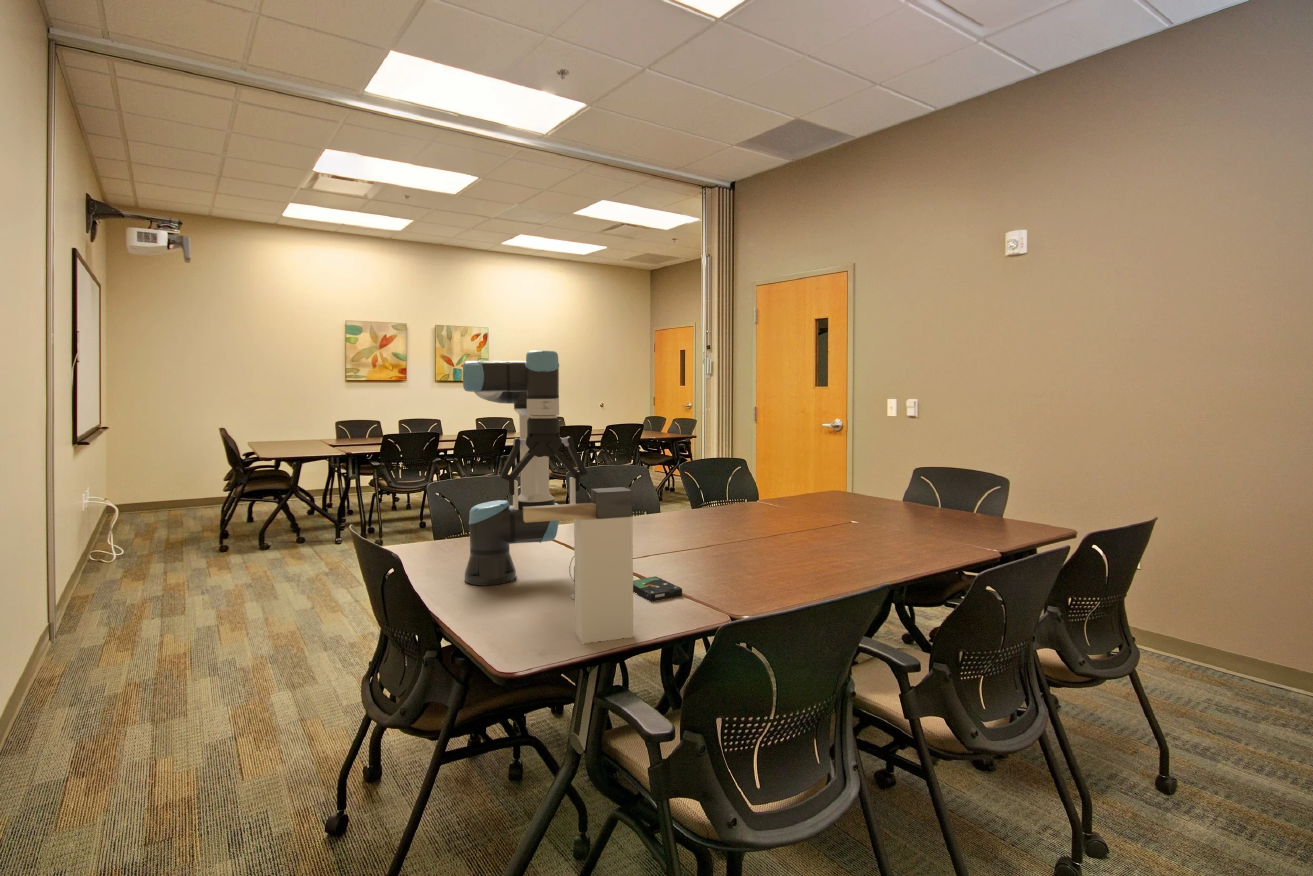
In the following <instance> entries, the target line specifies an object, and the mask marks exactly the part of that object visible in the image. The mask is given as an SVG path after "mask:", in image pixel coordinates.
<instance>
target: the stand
mask: <svg viewBox="0 0 1313 876" xmlns="http://www.w3.org/2000/svg"><path fill="white" fill-rule="evenodd" d="M633 523H634V522H633V516H632V517H620V518H605V519H597V518H587V519H573V528H574V529H573V532H574V533H573V536H574V537H573V538H574V539H573V541H574V545H573V547H574V550H573V551H574V556H575V557H574V565H575V600H574V608H575V609H574V610H575V611H574V612H575V613H574V614H575V615H574V619H575V621H574V623H575V634H576V636H577V638H578V639H579V641H580V643H581V644H583V643H585V644H591V642H593V643H599V642H598V641H601V642H607V640H608V641H615V640H622V638H624V639H629V638H634V592H633V580H634V548H633V547H634V545H633V544H634V543H633V535H634V534H633V533H634V532H633V529H634V527H633ZM583 645H584V644H583Z"/></svg>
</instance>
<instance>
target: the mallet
mask: <svg viewBox="0 0 1313 876" xmlns="http://www.w3.org/2000/svg"><path fill="white" fill-rule="evenodd" d="M632 495H633V494H632V490H631V489H629V488H627V487H624V486H622V487H620V486H619V487H603V488H602V487H601V488H591V489H590V499H591V500H590V501H591V502H584V503H576V504H570V503H567V504H566V503H565V504H564V503H563V504H559V505H547V506H530V507H523V521H524V522H525V523H528V522H542V521H557V520H559V521H568V520H569V521H570V520H574V519H587V518H597V519H605V518H620V517H632V518H633V508H632V507H633V503H632V502H633V499H632V497H633V496H632Z"/></svg>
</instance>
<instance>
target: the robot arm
mask: <svg viewBox="0 0 1313 876" xmlns="http://www.w3.org/2000/svg"><path fill="white" fill-rule="evenodd" d="M525 356H526V357H525V360H505V361H503V360H478V359H477V360H475V359H474V360H466V361H464V362H463V363H462V387H463V390H464V391H466V392H469V393H470V392H471V393H474V395H476V396H477V397H479V399H483V400H486V401H487V402H492V403H497V404H510V405H511V404H513V410H514V411H515V412H516V414H518V416H519V419H518V420H519V438H517V437H515V438H514V439H513V443H512V449H511V450H510V453H509V455H508V456H507V459H506V461H505V463H504V465H503V468H502V469H501V472H500V474H499V476H500V478H501V479H502V480H506V481H507V490H508V491H507V492H508V495H510V496H512V505H511V504H510V503H509V500H505V499H504V500H499V499H498V500H492V501H486V502H482V503H478V504H476V505H473V506H472V507H471V508H470V510H469V519H468V520H469V521H468V525H469V558H468V561H467V564H466V567H465V571H464V582H465V581H466V582H468V583H467V584H469V583H470V585H472V586H473V585H474V586H495V585H500V584H499V583H502V584H505V583H504V582H506V583H509V582H508V581H510V582H512V581H514V580H515V579H516V578H517V570H516V568H515V565H514V561H513V559H512V556H511V551H510V550H511V549H510V545H511V544H526V543H527V544H529V543H539V544H541V543H543V542H545V543H547V542H553V541H554V540H555V539H556V537H557V535H558V530H559V522H560V520H557V521H542V522H528V523H525V522H524V521H523V507H530V506H547V505H560V503H557V502H555V496H553V495H552V494H551V492H550V467H549V465H550V463H549V462H550V461H549V459H550V457H553V456H555V458H557V460H558V461H559V462H560V463H561V464H562V465H563V466H564V467H565V469H566V470H567V471H568V472H569V473H570V475H572V477H571V476H570V477H569V504H577V502H576V501H577V500H576V496H577V495H576V494H577V493H576V492H579V491H580V479H581V477H583V476H586V475H587V474H588V471H587V469H586V467H585V465H584V462H583V461H582V459H581V457H580V455H579V453H578V451H577V450H576V447H575V443H574V438H573V437H572V436H566V437H562V438H561V436H560V435H561V434H560V432H561V431H560V419H559V417H558V416H559V415H560V396H559V395H560V394H559V392H560V390H559V387H560V385H559V384H560V383H559V381H560V380H559V379H560V377H559V375H560V372H559V371H560V370H559V369H560V363H559V354H558V353H557V351H555V350H530V351H528V352H527V353H526V355H525ZM562 444H563V445H564V447H567V450H568V453H569V454H570V456H571V458H572V460H573V461H574V464H575V466H576V468H577V470H576V468H575V467H574V466H573V465H572V464H571V463H570V461H569V460H568V459H567V458H566V457H565V456H564V454H563V453H562V452H561V451H560V450H559V448H560V446H561V445H562ZM518 454H519V462H518V463H517V465H516V466H515V467H514V468H513V469H512V470H511V468H512V467H513V464H514V462H515V460H516V458H517V456H518ZM510 471H511V472H510ZM519 475H520V494H519V482H518V480H516V479H517V477H518V476H519ZM515 577H516V578H515ZM514 578H515V579H514ZM513 579H514V580H513ZM511 580H512V581H511ZM466 582H465V583H466Z"/></svg>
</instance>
